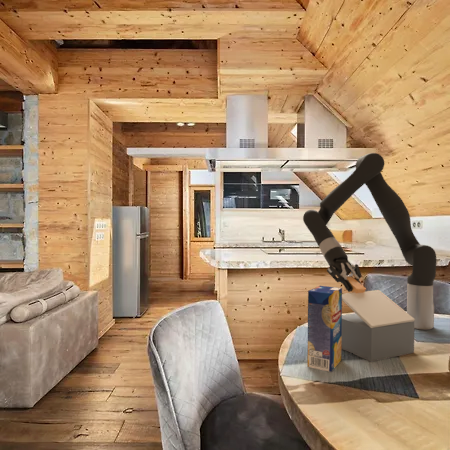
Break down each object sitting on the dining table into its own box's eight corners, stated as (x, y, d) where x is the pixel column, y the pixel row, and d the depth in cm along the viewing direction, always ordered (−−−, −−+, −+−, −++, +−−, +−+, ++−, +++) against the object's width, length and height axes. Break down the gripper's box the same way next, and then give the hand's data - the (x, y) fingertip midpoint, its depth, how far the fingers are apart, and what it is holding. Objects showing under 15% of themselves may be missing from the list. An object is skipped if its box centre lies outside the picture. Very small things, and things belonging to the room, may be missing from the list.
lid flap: (364, 280, 135) (366, 275, 135) (413, 321, 117) (416, 315, 116) (324, 283, 127) (327, 278, 126) (371, 328, 109) (373, 321, 108)
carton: (374, 338, 131) (374, 310, 131) (414, 352, 117) (414, 321, 117) (333, 345, 123) (334, 316, 123) (371, 361, 109) (371, 328, 109)
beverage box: (341, 359, 110) (342, 287, 110) (330, 372, 101) (331, 293, 101) (319, 355, 114) (320, 285, 114) (307, 366, 105) (308, 291, 104)
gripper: (323, 246, 132) (346, 285, 121) (352, 245, 138) (377, 282, 127) (313, 258, 137) (334, 297, 126) (342, 257, 143) (365, 294, 132)
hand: (356, 289), depth 127 cm, fingers closed on lid flap, 4 cm apart
